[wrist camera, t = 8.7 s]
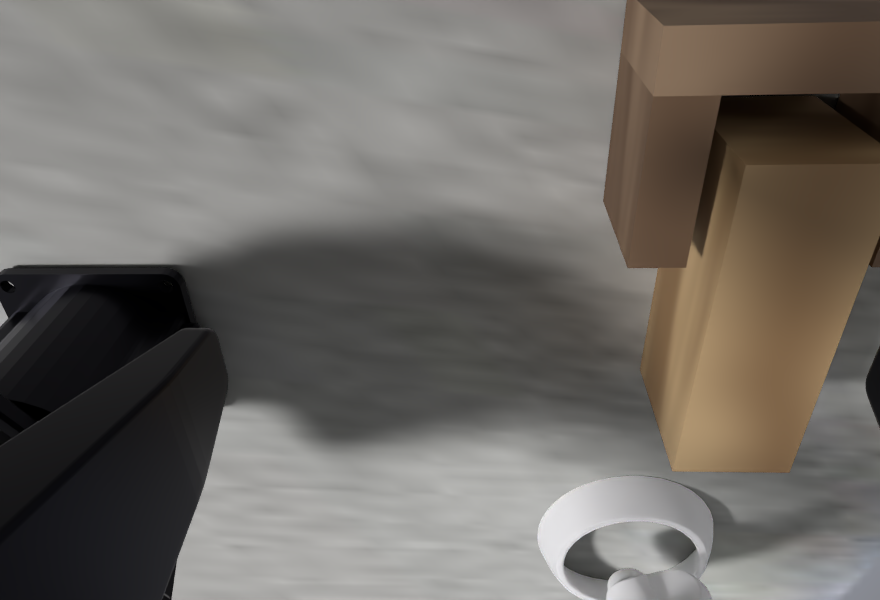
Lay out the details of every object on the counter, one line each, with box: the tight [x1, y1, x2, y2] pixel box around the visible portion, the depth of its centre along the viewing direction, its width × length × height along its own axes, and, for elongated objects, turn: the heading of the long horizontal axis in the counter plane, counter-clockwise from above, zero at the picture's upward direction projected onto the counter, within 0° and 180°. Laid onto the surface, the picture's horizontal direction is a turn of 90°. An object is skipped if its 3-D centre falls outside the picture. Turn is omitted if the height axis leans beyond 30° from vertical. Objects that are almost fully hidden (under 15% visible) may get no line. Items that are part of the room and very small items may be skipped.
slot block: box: [603, 0, 880, 268], centre depth 17 cm, size 8×6×4 cm
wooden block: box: [640, 96, 880, 473], centre depth 20 cm, size 4×10×5 cm, turn 2°
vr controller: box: [537, 476, 714, 600], centre depth 26 cm, size 8×12×7 cm
